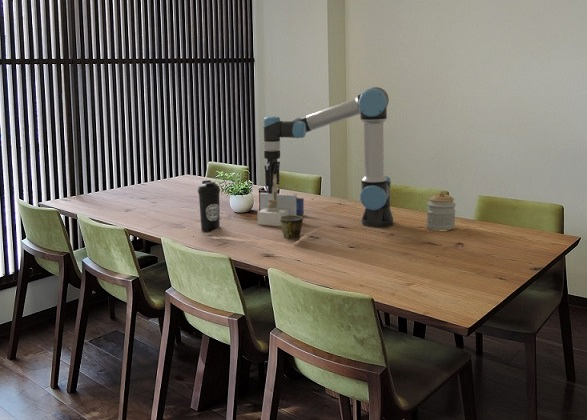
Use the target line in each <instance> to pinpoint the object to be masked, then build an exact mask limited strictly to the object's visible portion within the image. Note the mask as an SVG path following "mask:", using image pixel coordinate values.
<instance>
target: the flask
mask: <svg viewBox="0 0 587 420" xmlns="http://www.w3.org/2000/svg"><path fill="white" fill-rule="evenodd" d="M292 195H296V215H297V216H301V217H303V216H304V215H305V213H304V212H305V210H304V208H305V207H304V203H305V201H304V200H305V199H304V197H297V196H298V194H296V193H293V194H292Z"/></svg>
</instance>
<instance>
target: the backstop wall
mask: <svg viewBox="0 0 587 420" xmlns="http://www.w3.org/2000/svg"><path fill="white" fill-rule="evenodd" d="M296 197H297V195H293V194H288V193H287V194H286V193H278V198H277V208H279V209H289V215H296ZM259 206H260V207H259V209H260V210H262V209H264V208H269V207H268V192H260V193H259ZM260 210H259V211H260Z"/></svg>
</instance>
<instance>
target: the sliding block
mask: <svg viewBox="0 0 587 420" xmlns="http://www.w3.org/2000/svg"><path fill="white" fill-rule="evenodd" d="M287 215H289V209H279V208H264V209H262V210H258V211H257V225H260V226H261V225H262V226H275V227H282V226H281V221H280V218H281V217H282V216H287Z"/></svg>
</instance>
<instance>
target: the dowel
mask: <svg viewBox="0 0 587 420" xmlns="http://www.w3.org/2000/svg"><path fill="white" fill-rule="evenodd" d="M273 186H274V200H268V207H269V208H277V191H278V184H277V182H276V174H274V175H273Z"/></svg>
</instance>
